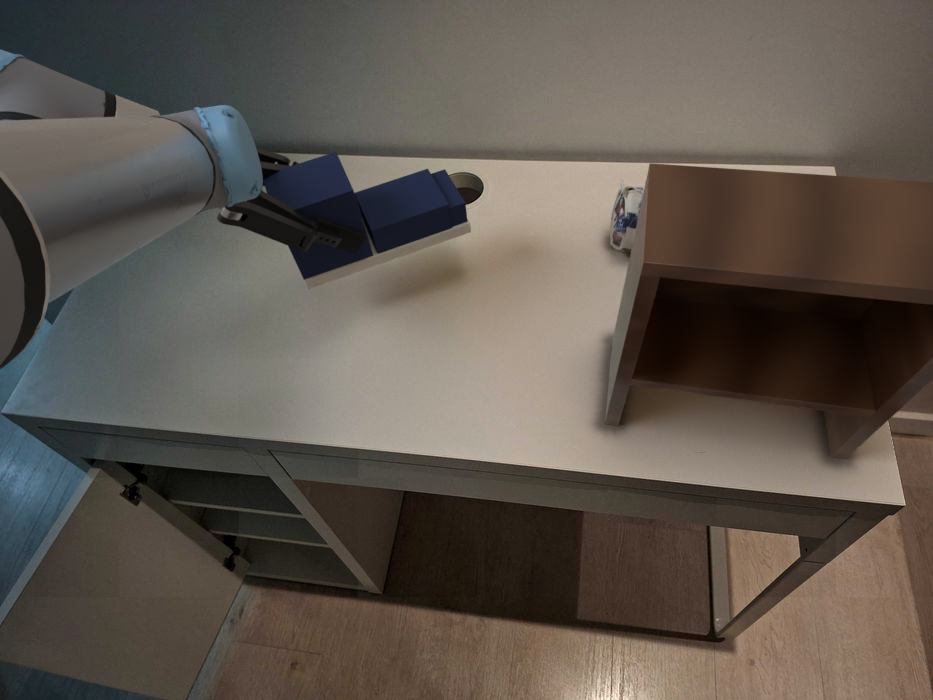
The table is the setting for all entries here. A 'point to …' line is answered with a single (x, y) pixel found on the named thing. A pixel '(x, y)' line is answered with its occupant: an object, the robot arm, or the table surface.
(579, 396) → the table surface
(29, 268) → the robot arm
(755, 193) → the brown box
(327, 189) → the blue blocks on base
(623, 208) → the pencil case
